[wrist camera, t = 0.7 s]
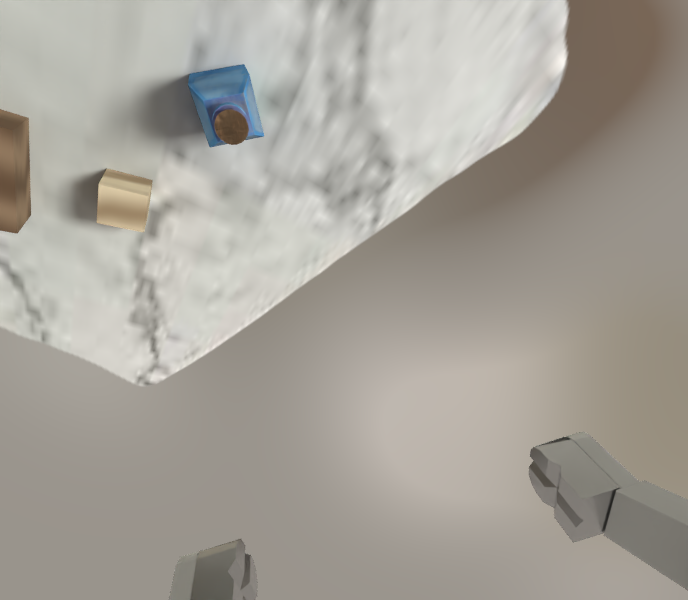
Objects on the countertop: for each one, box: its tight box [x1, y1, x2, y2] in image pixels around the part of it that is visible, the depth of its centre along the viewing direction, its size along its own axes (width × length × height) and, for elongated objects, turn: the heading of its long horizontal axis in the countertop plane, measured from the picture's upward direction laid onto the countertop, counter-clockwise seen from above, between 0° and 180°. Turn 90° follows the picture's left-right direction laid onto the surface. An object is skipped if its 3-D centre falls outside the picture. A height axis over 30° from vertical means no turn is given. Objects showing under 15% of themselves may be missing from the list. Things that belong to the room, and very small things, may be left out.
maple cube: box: [97, 169, 152, 232], centre depth 45 cm, size 5×5×5 cm
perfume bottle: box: [188, 64, 264, 147], centre depth 39 cm, size 6×6×12 cm
